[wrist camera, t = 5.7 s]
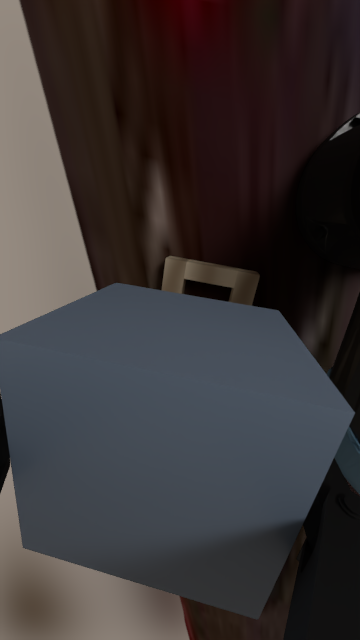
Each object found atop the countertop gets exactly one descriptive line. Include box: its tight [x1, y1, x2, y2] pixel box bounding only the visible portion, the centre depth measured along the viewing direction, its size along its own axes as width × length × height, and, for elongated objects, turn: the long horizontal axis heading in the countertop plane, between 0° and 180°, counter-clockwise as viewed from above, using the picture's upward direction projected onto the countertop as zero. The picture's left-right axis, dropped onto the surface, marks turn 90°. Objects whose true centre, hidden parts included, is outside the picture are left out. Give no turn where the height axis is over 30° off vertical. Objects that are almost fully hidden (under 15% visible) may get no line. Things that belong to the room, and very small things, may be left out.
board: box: [162, 256, 260, 306], centre depth 33 cm, size 11×20×3 cm, turn 171°
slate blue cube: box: [0, 283, 355, 620], centre depth 11 cm, size 9×9×8 cm
